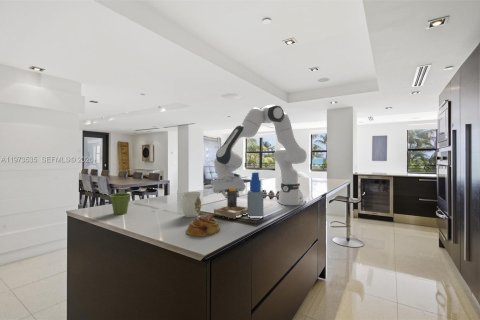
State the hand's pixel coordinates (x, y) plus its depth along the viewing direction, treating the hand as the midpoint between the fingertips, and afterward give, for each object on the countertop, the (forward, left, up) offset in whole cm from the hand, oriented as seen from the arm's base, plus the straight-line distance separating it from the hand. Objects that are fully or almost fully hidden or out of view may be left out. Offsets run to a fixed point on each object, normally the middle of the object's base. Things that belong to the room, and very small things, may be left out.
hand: (232, 197), depth 140 cm
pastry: (+30, +7, -11) cm, 33 cm away
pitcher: (+15, -18, -11) cm, 26 cm away
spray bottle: (-4, +13, -11) cm, 17 cm away
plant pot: (+37, -57, -11) cm, 69 cm away
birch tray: (0, -1, -10) cm, 10 cm away
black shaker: (0, -1, -5) cm, 5 cm away
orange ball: (0, 0, +4) cm, 4 cm away
